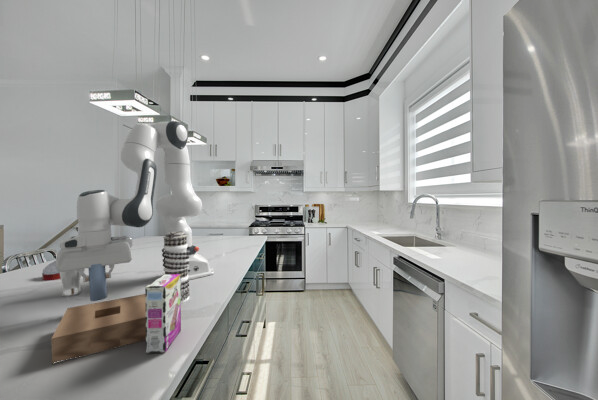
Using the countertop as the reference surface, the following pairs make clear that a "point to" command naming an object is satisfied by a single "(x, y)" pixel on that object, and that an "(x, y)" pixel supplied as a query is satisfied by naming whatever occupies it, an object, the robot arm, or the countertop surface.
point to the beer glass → (70, 283)
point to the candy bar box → (163, 312)
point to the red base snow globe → (50, 272)
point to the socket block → (99, 327)
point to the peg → (97, 282)
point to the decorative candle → (177, 259)
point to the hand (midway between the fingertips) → (97, 279)
